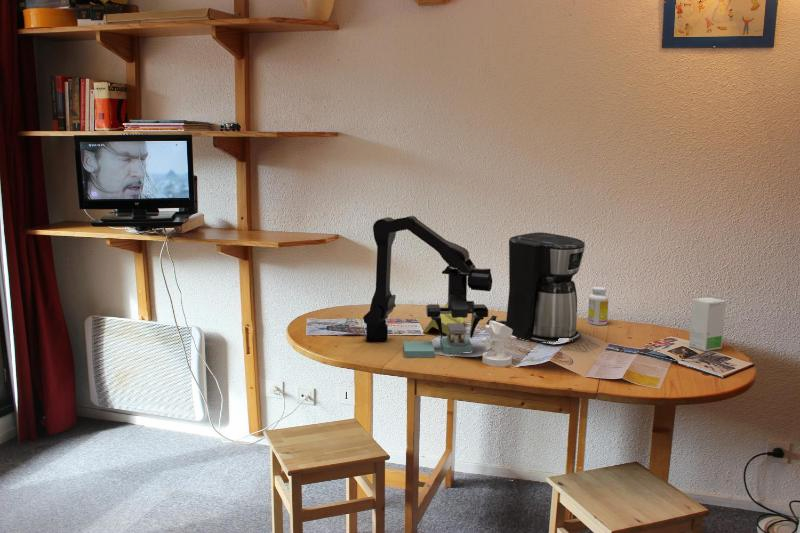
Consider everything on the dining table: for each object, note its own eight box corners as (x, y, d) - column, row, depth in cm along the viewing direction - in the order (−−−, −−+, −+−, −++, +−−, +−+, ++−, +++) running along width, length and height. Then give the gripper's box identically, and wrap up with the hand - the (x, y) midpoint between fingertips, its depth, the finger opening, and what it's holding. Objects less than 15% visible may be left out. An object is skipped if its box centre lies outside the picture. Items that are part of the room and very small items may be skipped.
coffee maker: (575, 349, 211) (581, 242, 205) (475, 338, 222) (477, 236, 216) (583, 330, 232) (589, 233, 226) (491, 321, 243) (494, 228, 237)
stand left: (404, 357, 202) (404, 351, 201) (403, 347, 212) (403, 341, 211) (434, 357, 202) (434, 351, 202) (431, 347, 212) (432, 341, 212)
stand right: (443, 353, 206) (443, 347, 206) (440, 343, 216) (440, 337, 216) (472, 353, 206) (472, 346, 206) (468, 343, 216) (468, 337, 216)
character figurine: (476, 359, 200) (477, 320, 198) (502, 355, 205) (503, 316, 203) (494, 368, 193) (495, 327, 191) (520, 363, 197) (522, 323, 195)
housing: (449, 346, 207) (449, 330, 206) (446, 338, 215) (447, 323, 214) (465, 345, 207) (466, 330, 206) (462, 338, 215) (462, 323, 214)
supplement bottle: (608, 322, 243) (610, 287, 241) (605, 326, 237) (607, 290, 235) (589, 319, 246) (591, 285, 244) (585, 324, 240) (587, 288, 238)
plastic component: (456, 331, 222) (430, 316, 224) (447, 348, 225) (421, 333, 227) (470, 312, 241) (446, 298, 242) (461, 329, 243) (437, 315, 245)
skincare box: (704, 352, 209) (709, 303, 206) (686, 346, 215) (691, 298, 212) (722, 348, 213) (727, 300, 210) (704, 342, 219) (709, 296, 216)
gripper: (429, 294, 199) (428, 345, 202) (492, 294, 200) (490, 345, 203) (426, 286, 210) (425, 334, 213) (486, 286, 211) (484, 334, 214)
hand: (456, 337), depth 211 cm, fingers open, 9 cm apart
